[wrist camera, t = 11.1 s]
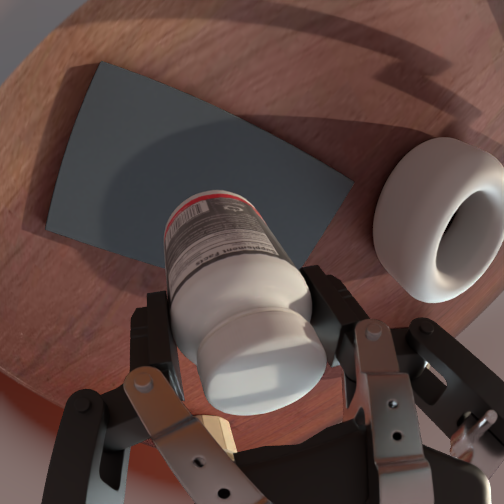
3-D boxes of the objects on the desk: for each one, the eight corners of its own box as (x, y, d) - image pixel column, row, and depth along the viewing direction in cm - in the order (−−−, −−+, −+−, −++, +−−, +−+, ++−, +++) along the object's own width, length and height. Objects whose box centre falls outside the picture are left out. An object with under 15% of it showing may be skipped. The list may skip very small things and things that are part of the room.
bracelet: (157, 441, 37) (161, 471, 33) (177, 411, 34) (182, 447, 30) (214, 445, 41) (221, 473, 37) (240, 417, 38) (249, 448, 34)
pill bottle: (262, 266, 19) (334, 402, 11) (173, 283, 18) (197, 438, 10) (259, 179, 16) (360, 298, 8) (154, 196, 15) (157, 345, 7)
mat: (47, 226, 19) (44, 230, 19) (102, 61, 15) (100, 60, 15) (277, 297, 28) (279, 301, 28) (351, 179, 24) (355, 182, 24)
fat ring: (485, 150, 26) (531, 173, 21) (445, 267, 34) (480, 299, 28) (390, 117, 22) (450, 138, 17) (348, 275, 29) (385, 321, 24)
